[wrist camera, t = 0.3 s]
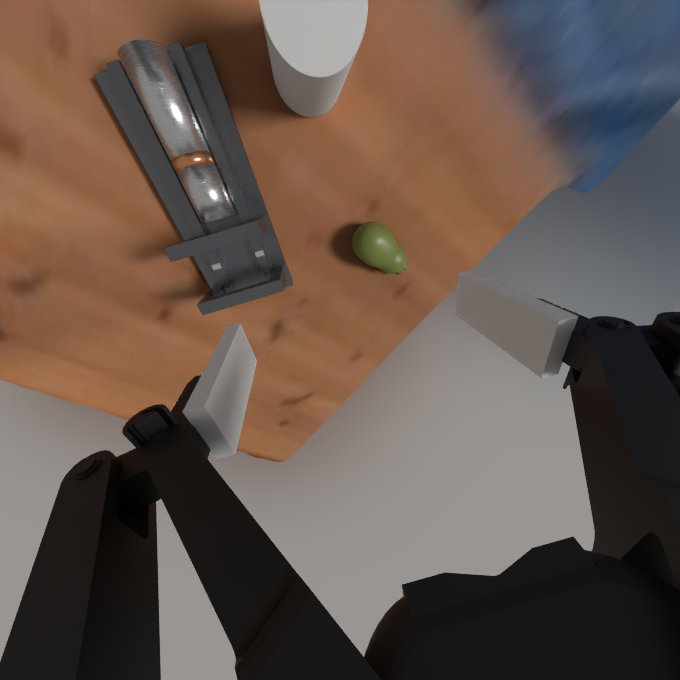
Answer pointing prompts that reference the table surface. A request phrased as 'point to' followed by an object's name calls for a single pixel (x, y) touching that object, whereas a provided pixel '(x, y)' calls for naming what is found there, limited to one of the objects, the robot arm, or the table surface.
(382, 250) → the pear
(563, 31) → the table surface
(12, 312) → the table surface
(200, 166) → the tube
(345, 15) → the white cylinder
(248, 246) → the collar rail
